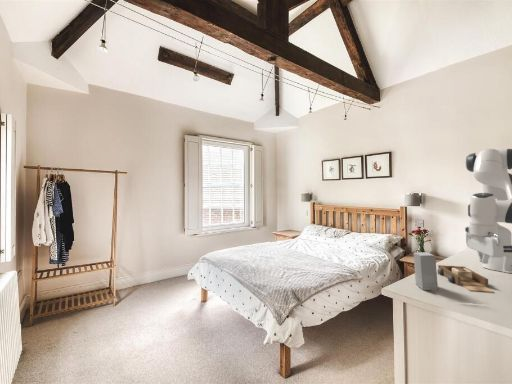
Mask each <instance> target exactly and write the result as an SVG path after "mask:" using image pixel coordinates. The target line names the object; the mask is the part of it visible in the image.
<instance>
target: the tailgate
mask: <svg viewBox="0 0 512 384" xmlns="http://www.w3.org/2000/svg"><path fill="white" fill-rule="evenodd" d="M461 287H463V288H464V289H465V290H467V291H469V292H477V293H490V294H491V293H492V294H494V293H495V291H494V290H492V289H490V288H489V287H488V288H487V287H481V286H468V285H462V286H461Z"/></svg>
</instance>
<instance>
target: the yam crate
mask: <svg viewBox="0 0 512 384" xmlns="http://www.w3.org/2000/svg"><path fill="white" fill-rule="evenodd" d="M452 272H453V273H454V274H456V275H458V276H459V277H461V280H469V281H472V272H471V271H469V270H467V269H465V268H452Z"/></svg>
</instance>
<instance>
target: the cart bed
mask: <svg viewBox="0 0 512 384" xmlns="http://www.w3.org/2000/svg"><path fill="white" fill-rule="evenodd" d="M437 266H438V267H437V274H438V275H440V276H444V278H446V279H447V281H448V282H449V283H451V284H455V285H456V286H461V287H462V285H468V286H481V287H487V288H489V279H488V278H487V277H485V276H483V275H481V274H479V273H477V272H476V271H473V270H472V269H469V268H467V267H466V266H462V265H460V266H459V265H444V264H438V265H437ZM452 268H465V269H467V270H469V271H471V272H472V281H469V280H461V277H459V276H458V275H456V274H454V273H453V272H452Z"/></svg>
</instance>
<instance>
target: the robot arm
mask: <svg viewBox="0 0 512 384" xmlns="http://www.w3.org/2000/svg"><path fill="white" fill-rule="evenodd" d="M464 165H465V168H466V169H467V171H469V172H471V173H473V178H474V179H475V180H476V181H477V182H479V184H481V185H482V191H483V192H479V193H474V194H472V195H471V197H470V203H469V204H467V215H468V217H470V221H469V222H470V223H469V225H468V226H466V227H465V228H464V232H465V244H466V247H467V248H469V249H471V250H474V251H476V252H477V255H478V258H479V260H478V261H479V263H482V265H481V267H482V268H484V269H488V270H491V271H498V272H502V273H507V274H512V232H511V230H510V229H509V228H508V227H504V225H500V224H499V223H506V224H512V173H510V172H508V171H509V170H512V148H506V149H495V148H485V149H482V150H480V151H479V152H473V153H470V154H468V155H467V156H466V158H465V161H464Z"/></svg>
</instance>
